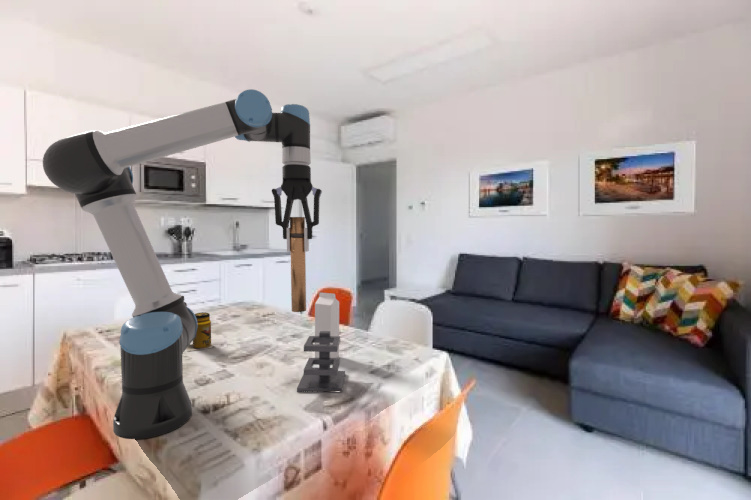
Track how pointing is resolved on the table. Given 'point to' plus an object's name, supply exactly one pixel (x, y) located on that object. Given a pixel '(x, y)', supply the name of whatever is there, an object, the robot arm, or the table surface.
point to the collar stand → (322, 365)
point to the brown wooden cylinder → (298, 264)
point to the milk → (327, 318)
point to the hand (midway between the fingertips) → (298, 251)
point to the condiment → (202, 333)
